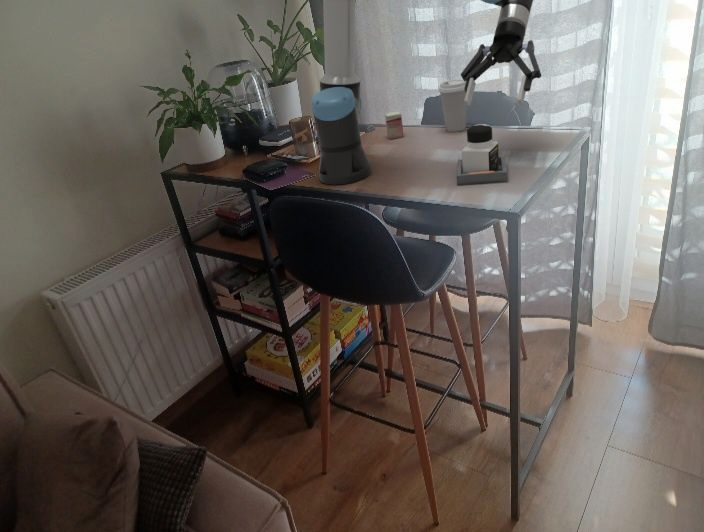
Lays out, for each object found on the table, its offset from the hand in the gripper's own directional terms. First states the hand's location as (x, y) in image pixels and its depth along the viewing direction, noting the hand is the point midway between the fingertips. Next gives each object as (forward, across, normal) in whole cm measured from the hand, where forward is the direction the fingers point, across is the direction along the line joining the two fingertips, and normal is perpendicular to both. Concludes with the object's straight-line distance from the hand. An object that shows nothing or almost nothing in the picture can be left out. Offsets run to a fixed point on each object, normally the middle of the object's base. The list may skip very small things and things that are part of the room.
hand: (492, 103), depth 132 cm
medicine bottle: (+17, +1, -5) cm, 18 cm away
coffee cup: (-10, +23, -33) cm, 41 cm away
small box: (-3, +41, -26) cm, 49 cm away
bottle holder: (+17, 0, -5) cm, 18 cm away
